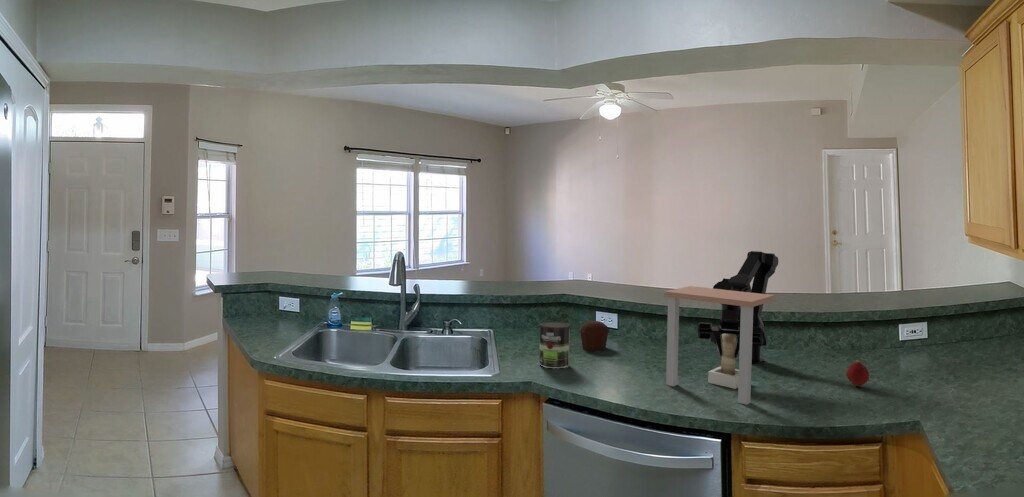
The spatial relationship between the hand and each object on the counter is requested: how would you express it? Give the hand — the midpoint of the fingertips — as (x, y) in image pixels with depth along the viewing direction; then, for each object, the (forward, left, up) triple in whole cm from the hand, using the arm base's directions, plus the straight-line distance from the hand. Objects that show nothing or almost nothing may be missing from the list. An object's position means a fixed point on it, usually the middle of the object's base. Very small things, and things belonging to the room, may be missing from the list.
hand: (728, 356), depth 172 cm
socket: (-1, -1, -8) cm, 9 cm away
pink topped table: (+7, -1, -8) cm, 11 cm away
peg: (-1, -1, -7) cm, 7 cm away
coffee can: (+22, -51, -9) cm, 56 cm away
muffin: (-7, -56, -9) cm, 57 cm away
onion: (-25, +28, -9) cm, 39 cm away
